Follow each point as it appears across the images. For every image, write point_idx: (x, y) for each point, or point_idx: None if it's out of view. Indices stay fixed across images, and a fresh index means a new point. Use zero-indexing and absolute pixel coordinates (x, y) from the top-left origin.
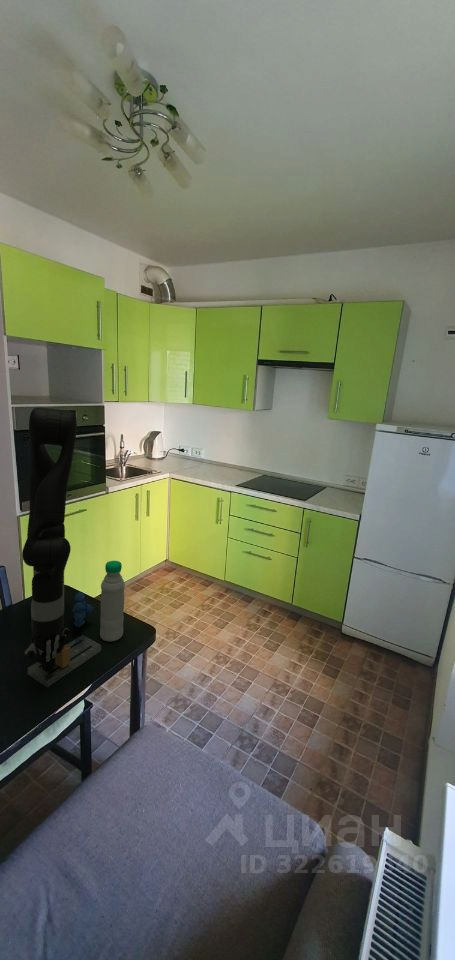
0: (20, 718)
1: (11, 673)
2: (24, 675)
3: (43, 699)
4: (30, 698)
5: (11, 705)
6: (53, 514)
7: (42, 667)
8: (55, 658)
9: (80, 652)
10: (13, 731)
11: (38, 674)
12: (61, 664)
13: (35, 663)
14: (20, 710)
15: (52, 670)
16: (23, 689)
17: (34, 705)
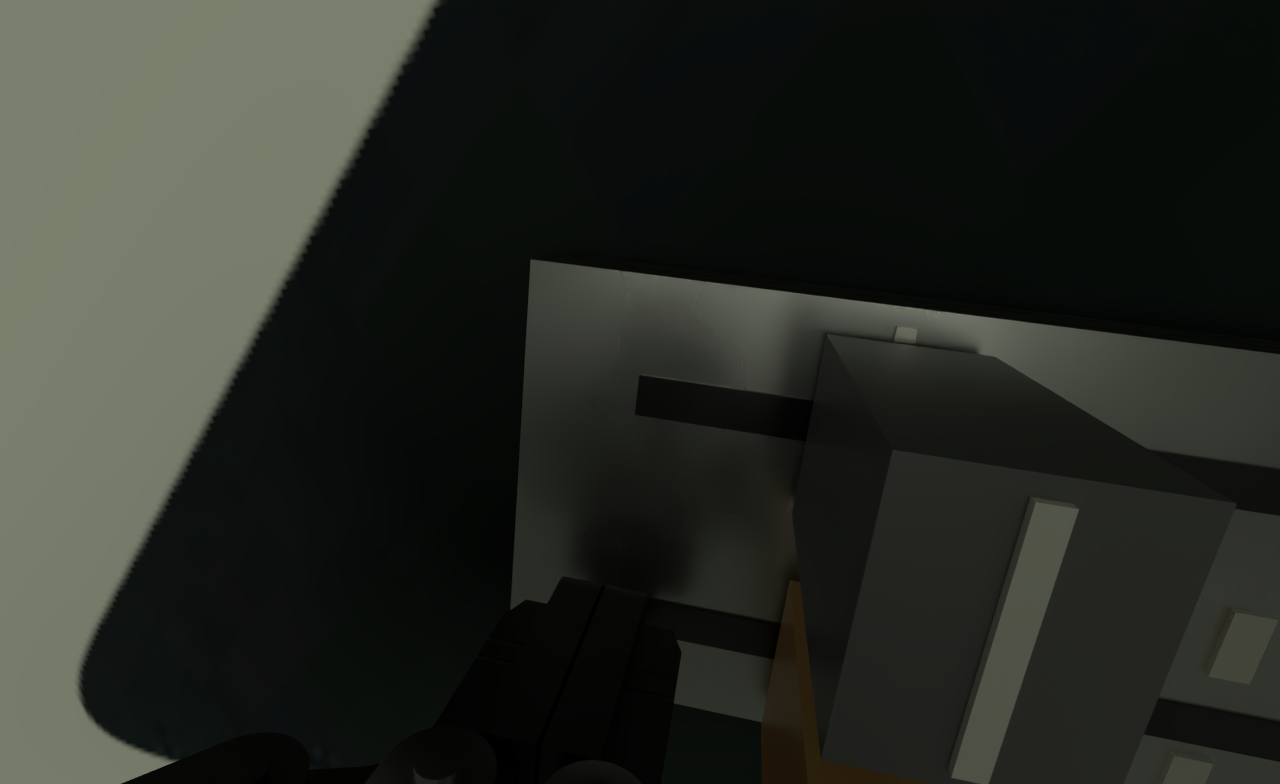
0: (190, 649)
1: (462, 31)
2: (531, 227)
3: (421, 677)
4: (358, 565)
5: (208, 475)
6: None
7: (494, 639)
8: (792, 646)
9: (1223, 718)
10: (103, 688)
11: (525, 501)
12: (764, 745)
13: (665, 278)
14: (230, 589)
15: (676, 608)
16: (387, 411)
17: (332, 654)
